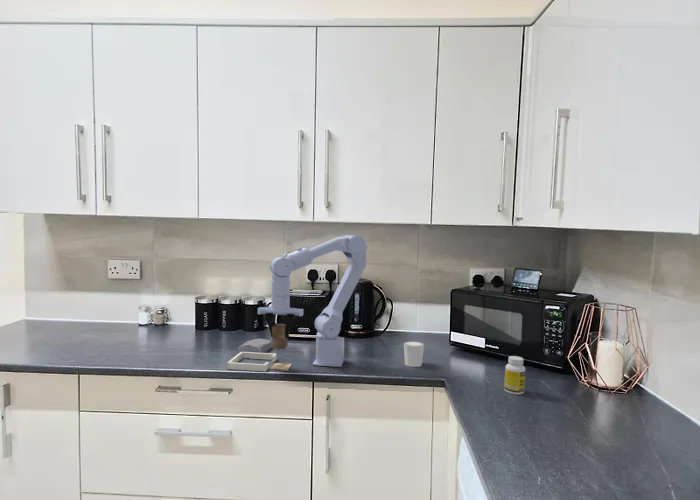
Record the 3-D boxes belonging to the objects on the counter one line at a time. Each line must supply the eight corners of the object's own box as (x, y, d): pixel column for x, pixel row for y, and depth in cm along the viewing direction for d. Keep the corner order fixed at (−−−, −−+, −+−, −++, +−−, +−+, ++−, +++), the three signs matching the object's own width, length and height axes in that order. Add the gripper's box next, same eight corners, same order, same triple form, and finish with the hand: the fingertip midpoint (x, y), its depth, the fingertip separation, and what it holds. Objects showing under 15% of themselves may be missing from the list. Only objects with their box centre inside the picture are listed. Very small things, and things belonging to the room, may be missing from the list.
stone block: (235, 360, 158) (262, 356, 156) (233, 346, 158) (260, 343, 156) (249, 352, 169) (274, 348, 167) (247, 339, 169) (272, 335, 168)
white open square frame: (276, 359, 153) (276, 353, 153) (265, 371, 141) (265, 365, 140) (240, 357, 154) (240, 351, 154) (226, 369, 142) (226, 362, 142)
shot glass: (411, 359, 156) (412, 340, 156) (427, 364, 152) (428, 344, 151) (399, 363, 152) (399, 343, 151) (415, 368, 147) (416, 347, 146)
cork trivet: (291, 365, 147) (291, 364, 147) (287, 370, 142) (287, 369, 142) (275, 364, 148) (275, 363, 148) (270, 369, 142) (270, 368, 142)
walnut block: (287, 345, 146) (287, 324, 146) (284, 349, 142) (284, 327, 142) (275, 344, 147) (275, 323, 146) (272, 348, 143) (272, 326, 142)
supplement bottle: (522, 396, 125) (523, 362, 124) (502, 392, 128) (503, 358, 127) (526, 390, 130) (527, 357, 129) (506, 386, 132) (508, 354, 132)
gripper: (305, 294, 147) (305, 335, 148) (262, 292, 148) (262, 332, 149) (300, 297, 140) (300, 340, 141) (255, 295, 141) (255, 338, 142)
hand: (280, 337), depth 144 cm, fingers closed on walnut block, 4 cm apart
